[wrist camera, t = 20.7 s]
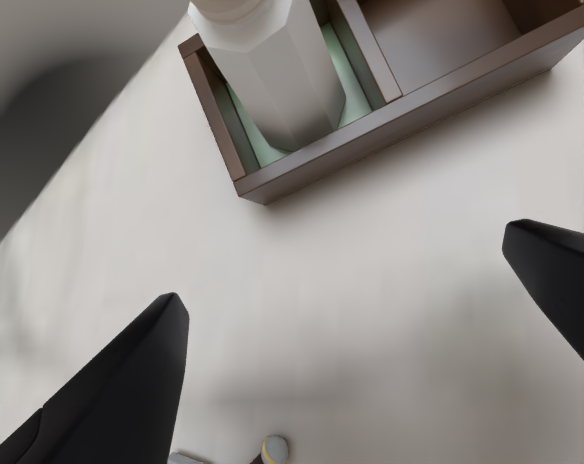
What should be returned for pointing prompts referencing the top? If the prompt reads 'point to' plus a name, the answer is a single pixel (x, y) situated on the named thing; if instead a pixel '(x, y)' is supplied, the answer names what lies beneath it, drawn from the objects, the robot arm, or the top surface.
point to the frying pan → (268, 460)
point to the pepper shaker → (274, 66)
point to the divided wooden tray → (389, 78)
